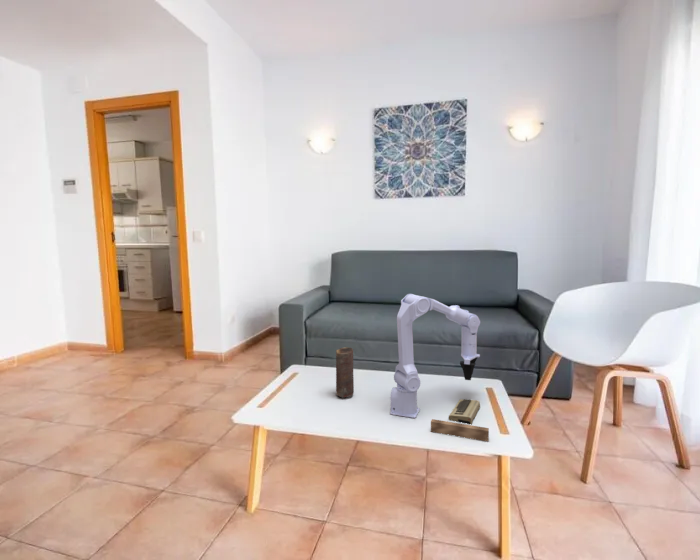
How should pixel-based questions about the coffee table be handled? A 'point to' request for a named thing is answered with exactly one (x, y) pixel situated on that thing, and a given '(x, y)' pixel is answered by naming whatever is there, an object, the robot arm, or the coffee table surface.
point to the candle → (344, 372)
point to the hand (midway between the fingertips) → (468, 376)
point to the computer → (465, 411)
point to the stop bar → (460, 430)
